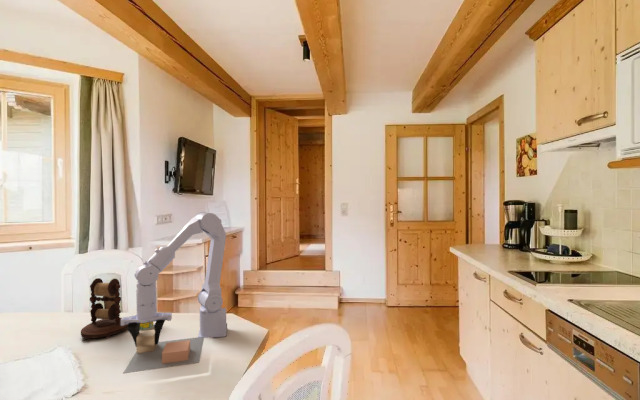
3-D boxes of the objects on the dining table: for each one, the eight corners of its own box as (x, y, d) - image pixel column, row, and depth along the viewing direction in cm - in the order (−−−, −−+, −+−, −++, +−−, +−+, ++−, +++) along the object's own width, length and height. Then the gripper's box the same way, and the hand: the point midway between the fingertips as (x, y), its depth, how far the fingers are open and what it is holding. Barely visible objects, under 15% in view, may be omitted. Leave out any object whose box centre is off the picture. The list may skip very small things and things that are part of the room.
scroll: (138, 325, 123) (137, 274, 123) (109, 343, 108) (108, 284, 108) (103, 324, 125) (102, 273, 124) (69, 341, 110) (68, 283, 110)
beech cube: (157, 344, 106) (157, 329, 106) (154, 351, 101) (153, 335, 101) (140, 346, 105) (140, 331, 105) (136, 353, 100) (136, 337, 100)
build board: (203, 338, 112) (203, 328, 111) (199, 364, 94) (199, 352, 94) (140, 345, 106) (140, 335, 106) (122, 375, 89) (122, 362, 89)
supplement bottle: (152, 324, 124) (152, 300, 124) (154, 329, 119) (153, 304, 119) (136, 327, 121) (136, 302, 121) (137, 332, 116) (137, 306, 116)
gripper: (117, 309, 97) (117, 353, 97) (168, 304, 101) (169, 346, 101) (124, 301, 104) (125, 342, 104) (172, 297, 108) (173, 337, 108)
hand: (147, 344), depth 103 cm, fingers closed on beech cube, 5 cm apart
